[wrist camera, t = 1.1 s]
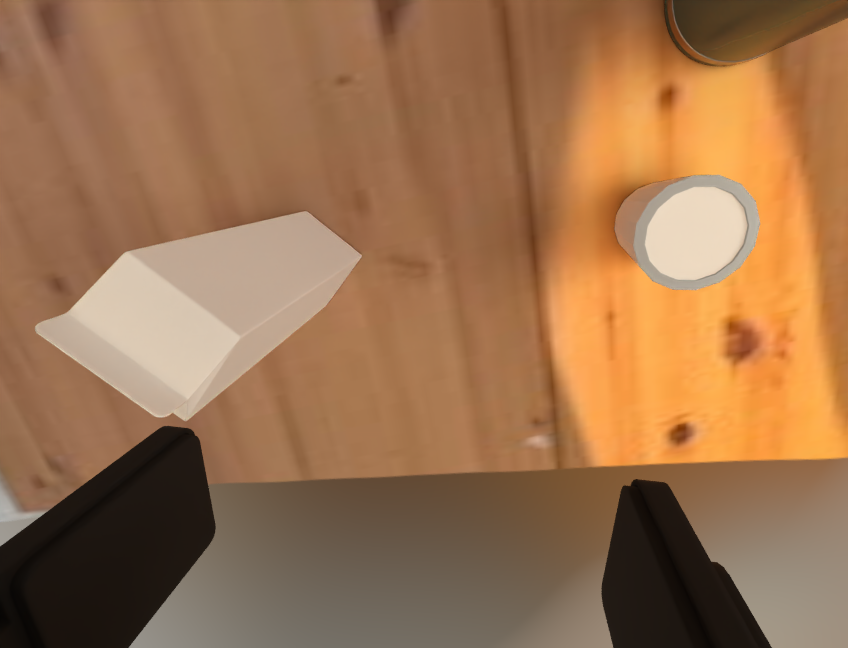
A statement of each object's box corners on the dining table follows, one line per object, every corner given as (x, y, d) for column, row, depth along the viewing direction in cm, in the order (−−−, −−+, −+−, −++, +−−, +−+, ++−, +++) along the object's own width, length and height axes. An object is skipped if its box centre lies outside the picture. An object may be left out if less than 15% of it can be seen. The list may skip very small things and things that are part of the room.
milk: (306, 209, 35) (51, 261, 15) (364, 256, 36) (195, 366, 15) (271, 265, 38) (5, 377, 17) (326, 308, 38) (133, 466, 18)
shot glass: (623, 165, 31) (658, 163, 24) (721, 182, 30) (783, 186, 24) (593, 257, 33) (617, 278, 27) (683, 275, 33) (730, 301, 26)
